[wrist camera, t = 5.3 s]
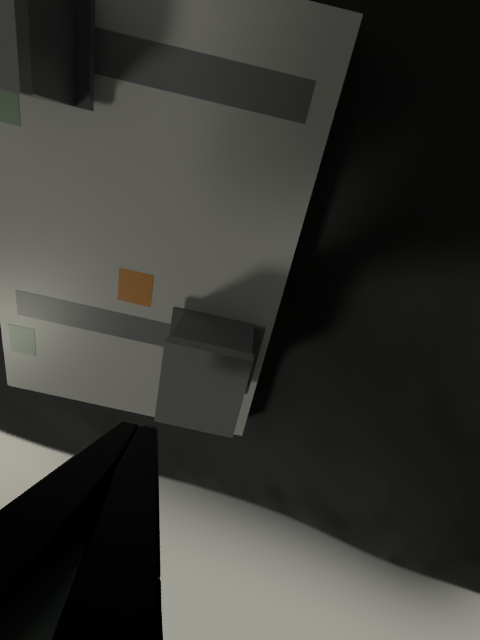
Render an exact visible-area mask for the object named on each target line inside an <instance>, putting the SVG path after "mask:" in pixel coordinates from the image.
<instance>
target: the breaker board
mask: <svg viewBox="0 0 480 640" xmlns="http://www.w3.org/2000/svg"><path fill="white" fill-rule="evenodd" d="M362 17H363V14H361V13H357V12H353V11H349V10H345V9H341V8H337V7H333V6H329V5H325V4H321V3H317V2H313V1H309V0H95V48H94V111H89V110H85V109H81V108H77V107H73V106H68V105H64V104H60V103H56V102H51V101H47V100H43V99H39V98H35V97H30V96H26V95H22V94H18V93H13V92H9V91H5V90H1V89H0V323H1V332H2V341H3V349H4V358H5V366H6V375H7V383H8V385H9V386H14V387H18V388H23V389H27V390H32V391H37V392H41V393H46V394H51V395H55V396H60V397H64V398H69V399H74V400H78V401H83V402H88V403H92V404H97V405H101V406H106V407H111V408H115V409H120V410H125V411H129V412H134V413H139V414H143V415H148V416H152V417H155V411H156V404H157V396H158V388H159V380H160V373H161V365H162V357H163V349H164V342H165V340H166V338H167V337H168V335H169V333H170V326H171V319H172V311H173V308H174V306H175V307H179V308H184V309H188V310H193V311H197V312H202V313H206V314H211V315H215V316H220V317H224V318H228V319H233V320H237V321H242V322H246V323H251V324H255V325H260V326H264V327H266V330H265V333H264V337H263V340H262V344H261V348H260V351H259V355H258V358H257V362H256V366H255V369H254V373H253V376H252V380H251V384H250V387H249V391H248V394H244V398H243V401H242V405H241V409H240V413H239V416H238V420H237V424H236V427H235V431H234V434H236V435H240V436H242V434H243V430H244V427H245V423H246V420H247V416H248V413H249V409H250V406H251V402H252V399H253V395H254V392H255V388H256V385H257V382H258V378H259V375H260V371H261V368H262V364H263V361H264V357H265V354H266V350H267V347H268V343H269V340H270V336H271V333H272V329H273V326H274V322H275V319H276V315H277V312H278V309H279V305H280V302H281V298H282V295H283V291H284V288H285V284H286V281H287V277H288V274H289V270H290V267H291V263H292V260H293V256H294V253H295V249H296V246H297V242H298V239H299V236H300V232H301V229H302V225H303V222H304V218H305V215H306V211H307V208H308V204H309V201H310V197H311V194H312V190H313V187H314V183H315V180H316V176H317V173H318V169H319V166H320V163H321V159H322V156H323V152H324V149H325V145H326V142H327V138H328V135H329V131H330V128H331V124H332V121H333V117H334V114H335V110H336V107H337V103H338V100H339V97H340V93H341V90H342V86H343V83H344V79H345V76H346V72H347V69H348V65H349V62H350V58H351V55H352V51H353V48H354V44H355V41H356V37H357V34H358V30H359V27H360V24H361V20H362Z"/></svg>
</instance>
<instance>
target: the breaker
mask: <svg viewBox="0 0 480 640" xmlns="http://www.w3.org/2000/svg"><path fill="white" fill-rule="evenodd" d="M94 48H95V0H0V89H1V90H5V91H9V92H13V93H18V94H22V95H26V96H30V97H35V98H39V99H43V100H47V101H51V102H56V103H60V104H64V105H68V106H73V107H77V108H81V109H85V110H89V111H94Z"/></svg>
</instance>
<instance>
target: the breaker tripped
mask: <svg viewBox="0 0 480 640" xmlns="http://www.w3.org/2000/svg"><path fill="white" fill-rule="evenodd" d="M265 330H266V327H264V326H260V325H255V324H251V323H246V322H242V321H237V320H233V319H228V318H224V317H220V316H215V315H211V314H206V313H202V312H197V311H193V310H188V309H184V308H179V307H175V306H174V308H173V311H172V319H171V326H170V333H169V335H168V337H167V338H166V340H165V342H164V349H163V357H162V365H161V373H160V380H159V388H158V396H157V404H156V411H155V419H154V421H156V422H161V423H165V424H170V425H174V426H179V427H184V428H188V429H193V430H198V431H202V432H207V433H212V434H216V435H221V436H225V437H230V438H233V435H234V431H235V427H236V424H237V420H238V416H239V413H240V409H241V405H242V401H243V398H244V394H248V391H249V387H250V384H251V380H252V376H253V373H254V369H255V366H256V362H257V358H258V355H259V351H260V348H261V344H262V340H263V337H264V333H265Z"/></svg>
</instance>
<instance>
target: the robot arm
mask: <svg viewBox="0 0 480 640" xmlns="http://www.w3.org/2000/svg"><path fill="white" fill-rule="evenodd" d="M159 535H160V531H159V479H158V431H157V428H156V427H153V426H149V425H144V424H142V425H139V424H138V423H135V422H130V421H125V420H124V421H121V422H119V423H118V424H116V425H115V426H114V427H112V428H111V429H110V430H108V431H107V432H106V433H104V434H103V435H102V436H100V437H99V438H97V439H96V440H95V441H93V442H92V443H91V444H89V445H88V446H87V447H85V448H84V449H82V450H81V451H80V452H78V453H77V454H76V455H74V456H73V457H72V458H70V459H69V460H68V461H66V462H65V463H63V464H62V465H61V466H59V467H58V468H57V469H55V470H54V471H53V472H51V473H50V474H48V475H47V476H46V477H44V478H43V479H42V480H40V481H39V482H38V483H36V484H35V485H33V486H32V487H31V488H29V489H28V490H27V491H25V492H24V493H23V494H21V495H20V496H18V498H16V499H15V500H13V501H12V502H10V503H9V504H8V505H6V506H5V507H4V508H2V509H1V510H0V640H163V633H162V612H161V581H160V536H159Z"/></svg>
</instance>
